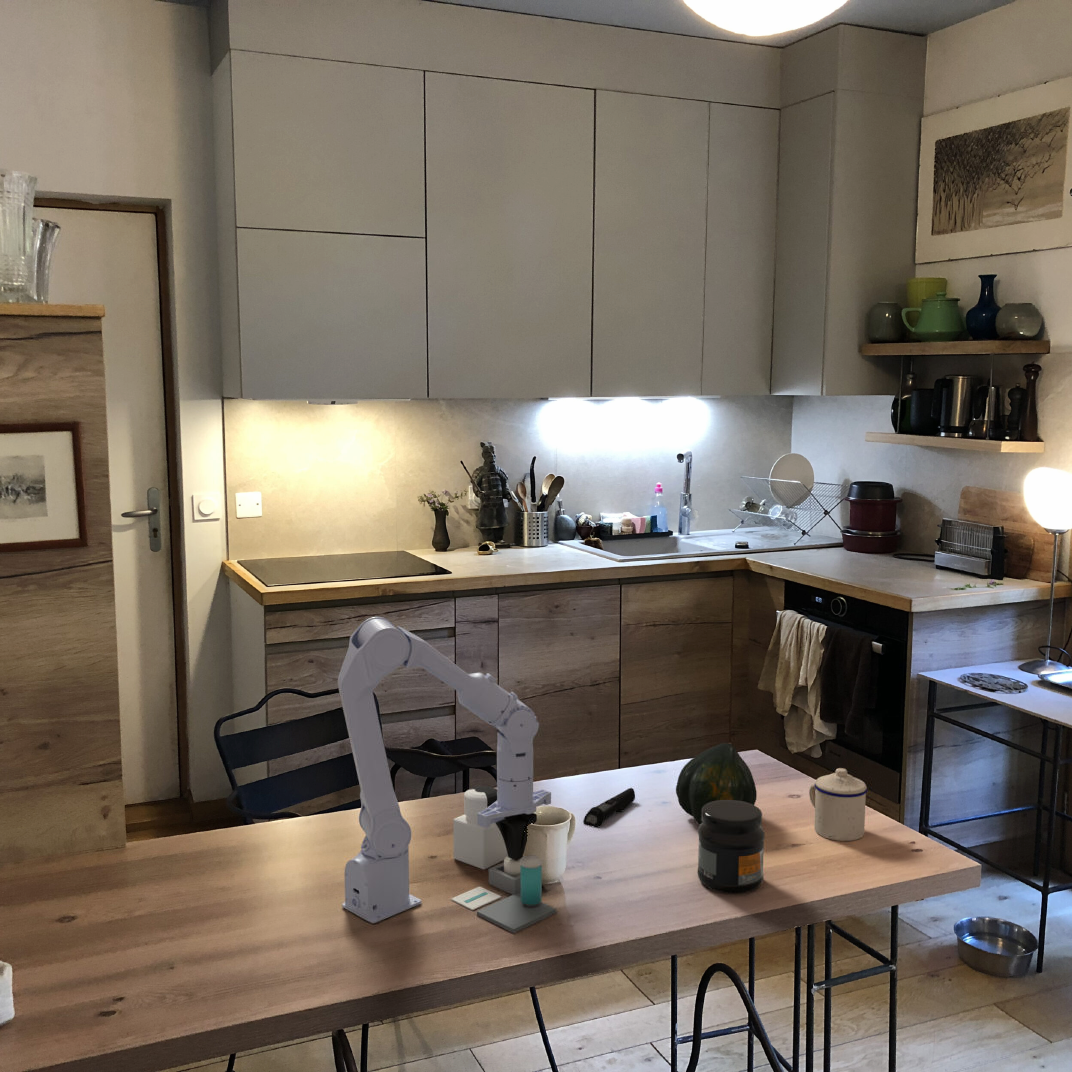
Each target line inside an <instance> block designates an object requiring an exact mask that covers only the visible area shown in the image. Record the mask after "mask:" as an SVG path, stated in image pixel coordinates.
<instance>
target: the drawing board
mask: <svg viewBox="0 0 1072 1072" xmlns="http://www.w3.org/2000/svg"><path fill="white" fill-rule="evenodd" d="M556 913H557V908H555V907H553V906H551V905H549V904H547V903H545V902H543V901H541V902H540V904H539V906H537V907H533V908H529V907H525V906H524V905H523V903H522V902H521V892H518V893H516V894H514V895H512V894H511V895H509V896H508V897H506V898H502V899H501V900H499V901H496V902H494V903H491V904H489V905H487V906H485V907H483V908H479V909H478V910H476V916H478V917H479V918H483V920H486V921H488V922H490V923H493V924H494V925H496V926H498V927H501V928H502V929H504V930H506V931H509V932H511V933H512V934H515V933H517V932H520V931H521V930H524V929H526V928H528V927H529V926H532V925H534V924H536V923H538V922H540V921H542V920H544V919H546V918H548V917H550V916H552V915H554V914H556Z"/></svg>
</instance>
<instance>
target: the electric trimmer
mask: <svg viewBox="0 0 1072 1072" xmlns="http://www.w3.org/2000/svg"><path fill="white" fill-rule="evenodd" d="M635 793H636V792H635V790H634V788H633V787H630V788H627V789H625V790H624V791H621V792H619V793H618V794H617V795H615V796H612V797H611V798H609V799H607V800H605V801H603V802H602V803H600V804H598V805H596V806H593V807H591V808H590V809H589V810H588V811H587V812H586V814H585V815H584V817H583V825H584V826H588V825H589V827H592V826H594V827H593V828H599V827H598V826H601V827H602V826H603V824H604V821H606V820H607V819H609V818H610V817H612V816H614V814H617V813H618V812H620V813H622V812H623V811H625V810H626V809H627V808H628V807H629V806H630V805H631V804H632V803H633V802H634V801H635V799H636V794H635ZM618 814H619V813H618Z"/></svg>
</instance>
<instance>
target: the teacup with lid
mask: <svg viewBox="0 0 1072 1072" xmlns="http://www.w3.org/2000/svg"><path fill="white" fill-rule="evenodd" d="M867 792H868V787H867V785H866V783H865V782H864V781H863V780H861V779H859V778H857V777H854V776H853V775H851V774H848V770H847V769H846V768H844V767H843V768H842V767H839V768H836V770H835V772H833V773H831V774H826V775H823V776H820V777H818V778H817V779H815V782H814V783H813V784H811V785H810V786H809V791H808V796H809V800H810V802H811V805H812V807H813V808H814V823H813V825H814V826H813V827H814V828H813V829H814V831H815V832H816V833H817V834H818V835H820V836H821V837H823V838H825V839H829V840H834V841H839V842H849V841H850V842H851V841H857V840H859V839H862V837H863V836H864V834H865V823H866V822H865V819H866V815H865V814H866V797H867V795H866V794H867Z"/></svg>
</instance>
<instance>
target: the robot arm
mask: <svg viewBox="0 0 1072 1072" xmlns="http://www.w3.org/2000/svg"><path fill="white" fill-rule="evenodd" d="M402 665H403V667H404V668H406V669H412V668H417V667H420V668H422V669H424V670H425V671H426V672H429V674H431V675H433V676H434V677H436V678H437V679H439V680H440V681H442V682H443V683H444V684H446V685H447V686H449V687H451V688H452V689H453V690H455V691H456V693H457V700H458V703H459V704H460V705H461V706H462V707H464V708H466V709H467V710H469V711H470V712H472V713H473V715H475V716H477V717H479V718H480V719H481V720H483V721H484V722H485V723H487V724H489V725H491V726H493V727H494V729H496V730H498V731H497V733H496V735H497V742H496V743H497V745H496V766H497V767H496V789H497V801H496V802H494V803H493V804H492V805H490V806H489V807H488V808H486V809H485V810H483V811H482V812H479V813H477V822H478V825H479V826H482V827H484V828H488V827H490V824H493V823H496V825H497V826H498V828H499V830H500V832H501V834H502V837H503V840H504V843H505V846H506V850H507V854H508V857H509V858H511V859H514V860H516V861H517V860H520V859H521V858H522V857H524V853H525V849H526V845H527V842H528V840H527V836H528V835H527V833H528V832H527V830H528V829H527V826H528V825H529V824H531V823H533V824H534V823H535V824H536V823H537V822H538V815H537V814H536V812H537V807H540V806H542V805H545V806H548V805H551V804H552V791H549V790H546V789H538V790H536V791H535V790H534V746H533V745H534V744H533V743H534V741H533V740H534V738H535V736H536V735H537V733H538V730H539V727H540V722H538V720H537V718H538V717H537V716H536V713H535V712H534V711H533V710H532V708H530V707H529V706H528V705H526V704H525V703H523V702H522V701H521V700H520V699H519V697H518V695H517V694H516V693H514V692H513V691H511V692H509V691H507V690H506V689H504V688H503V687H501V686H500V685H499V684H497V683H496V680H497V679H496V677H494V676H492V675H491V674H490V673H486V674H483V673H482V672H474V673H473V672H472V673H468V672H466V671H464V670H463V669H462V668H461V667H460V666H459V665H457V664H455V663H454V662H453V661H452V660H450V659H449V658H448V657H446V656H445V655H444V654H442V653H441V652H440V651H439V650H437V648H435V647H434V646H432V644H431V645H430V644H429V643H428V642H427V641H426V640H425V639H422V637H419V636H418V635H416V634H415V633H413V632H410V631H408V630H406V628H404V627H401V626H399V625H397V626H396V627H395V625H394V624H393V623H392V622H391V621H390V620H389V619H388V618H385V617H383V616H373V617H370V618H367V619H366V620H364V621H363V622H362V623H361V624H360V625H359V626H358V627H357V628H356V629H355V631H354V632H352V634H351V635H350V637H349V643H348V649H347V651H346V654H345V657H344V659H343V662H342V666H341V668H340V671H339V674H338V677H337V687H338V692H339V695H340V700H341V705H342V706H341V707H342V710H343V715H344V718H345V719H344V720H345V723H346V729H347V732H348V733H347V734H348V738H349V741H350V746H351V752H352V757H353V760H354V764H355V769H356V773H357V779H358V782H359V787H360V793H359V798H360V803H361V807H360V810H359V814H358V823H359V826H360V828H361V829H362V831H363V832H364V834H365V836H364V837H363V840H362V843H361V845H360V851H359V852H358V853H357V854H356V855H355V856H354V857H353V858H351V859H350V860H348V861H347V862H346V864H345V867H344V902H343V903H342V904H341V907H342V908H344V909H346V910H347V911H349V912H351V913H353V914H354V915H356V916H358V917H360V918H361V919H363V920H365V921H367V922H369V923H371V924H376V923H378V922H380V921H383V920H385V919H387V918H390V917H392V916H396V915H397V914H400V913H402V912H404V911H407V910H409V909H411V908H413V907H416V906H419V905H421V904H422V900H421V899H420V898H419V897H416V896H415V895H412V894H411V893H410V859H409V858H410V855H409V854H410V852H409V847H410V846H409V845H410V843H411V840H412V829H411V826H410V824H409V823H408V822H407V820H406V819H405V818H404V817H403V815H402V812H401V809H400V808H401V807H400V805H399V801H398V799H397V796H396V793H395V790H394V786H393V781H392V778H391V772H390V768H389V762H388V758H387V753H386V749H385V745H384V740H383V739H384V738H383V733H382V728H381V725H380V722H379V721H380V720H379V716H378V711H377V706H376V702H375V697H374V690H376V687H377V686H378V685H379V684H380V682H381V681H382V680H383V679H384V678H385V677H387V676H388V675H390V674H391V673H392V672H394V671H395V670H397V669H398V668H400V667H401V666H402ZM535 824H534V825H535ZM524 831H525V832H524Z"/></svg>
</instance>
